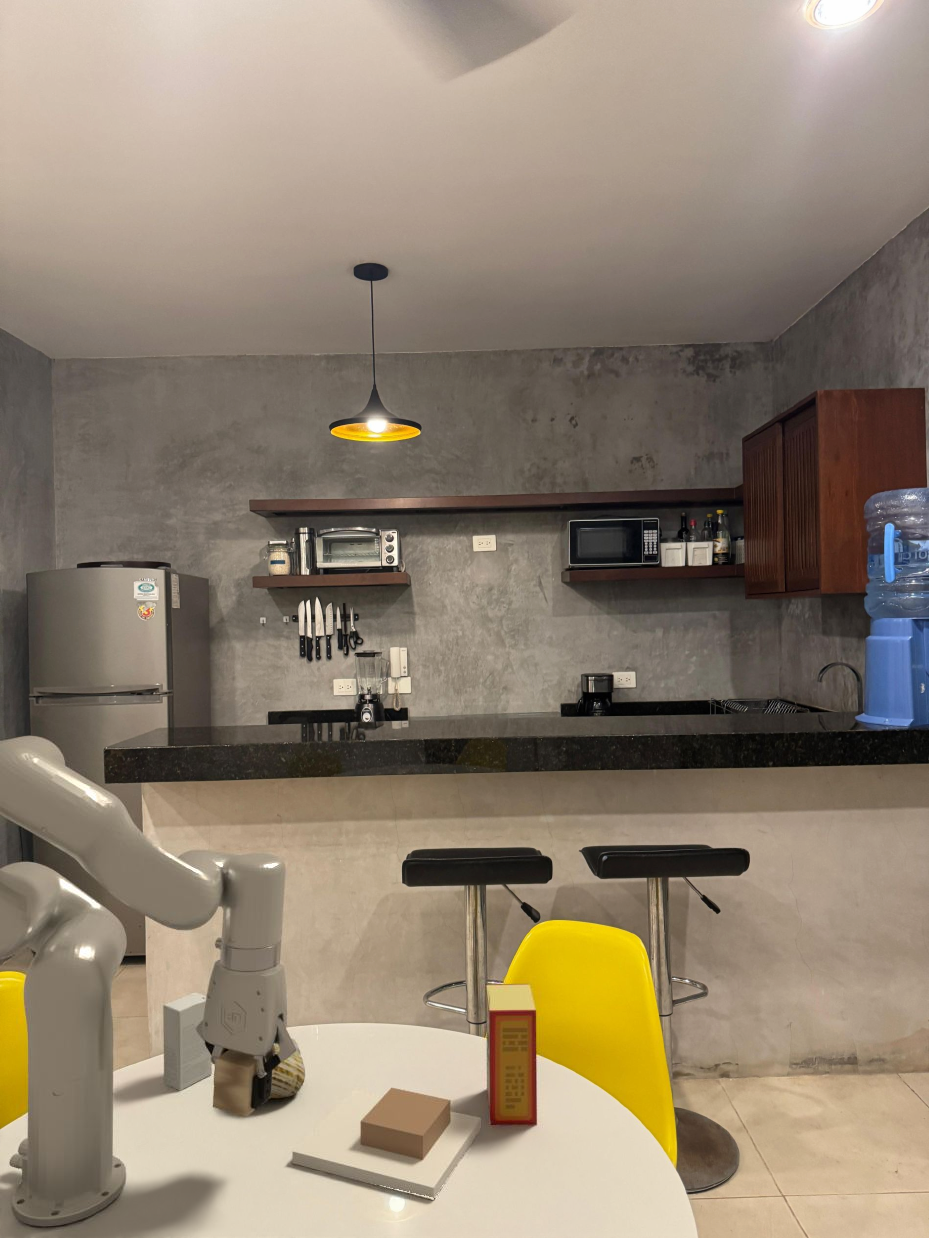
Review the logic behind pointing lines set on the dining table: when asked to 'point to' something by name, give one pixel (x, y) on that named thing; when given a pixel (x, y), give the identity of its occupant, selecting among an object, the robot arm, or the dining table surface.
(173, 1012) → the skincare box
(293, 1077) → the seashell
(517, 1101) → the baking soda box
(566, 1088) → the dining table surface
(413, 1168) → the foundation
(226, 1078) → the oak block
